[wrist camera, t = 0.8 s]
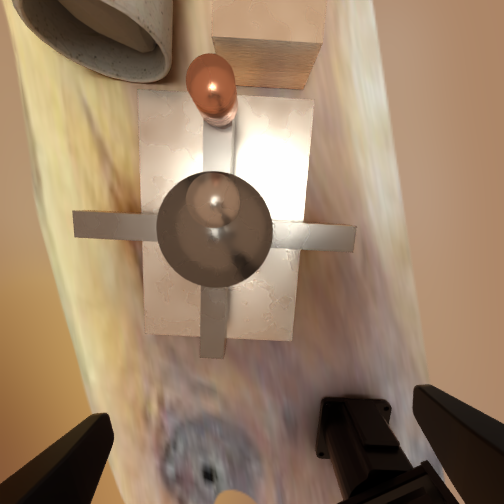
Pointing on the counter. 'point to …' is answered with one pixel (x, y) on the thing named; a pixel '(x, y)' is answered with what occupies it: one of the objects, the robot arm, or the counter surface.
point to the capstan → (214, 213)
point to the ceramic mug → (106, 34)
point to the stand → (237, 161)
